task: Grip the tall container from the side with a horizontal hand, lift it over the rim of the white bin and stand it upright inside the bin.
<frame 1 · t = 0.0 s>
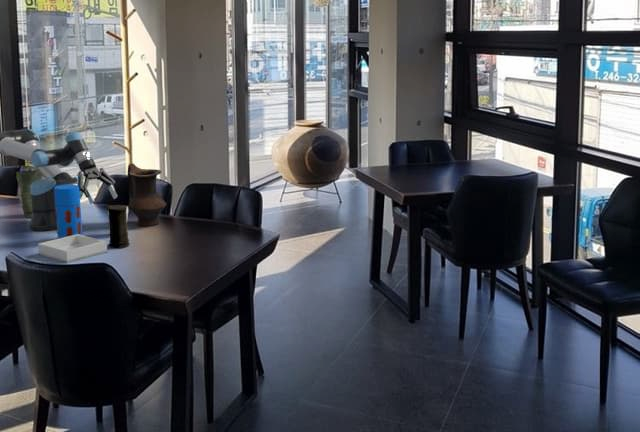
hand: (104, 200, 354), 15 cm above the table, tool tilted 35°, fingers open, 13 cm apart
thermos: (70, 240, 342), on the table
jug: (146, 224, 372), on the table
white bin: (73, 253, 320), on the table
green ribbed vase: (34, 216, 388), on the table
container: (119, 246, 332), on the table
foam cup: (119, 234, 352), on the table
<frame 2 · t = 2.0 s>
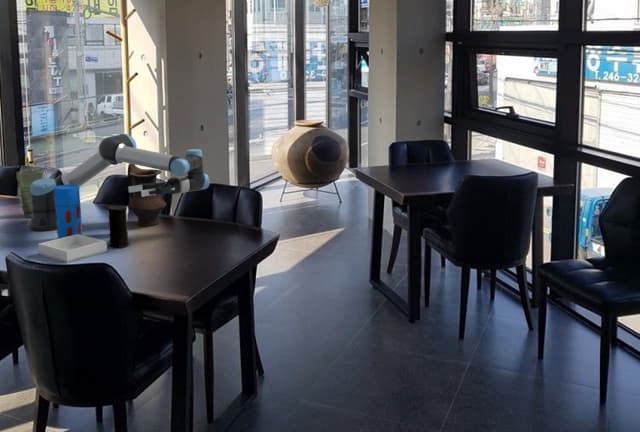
hand: (135, 191, 332), 24 cm above the table, tool horizontal, fingers open, 13 cm apart
nothing on the table moved.
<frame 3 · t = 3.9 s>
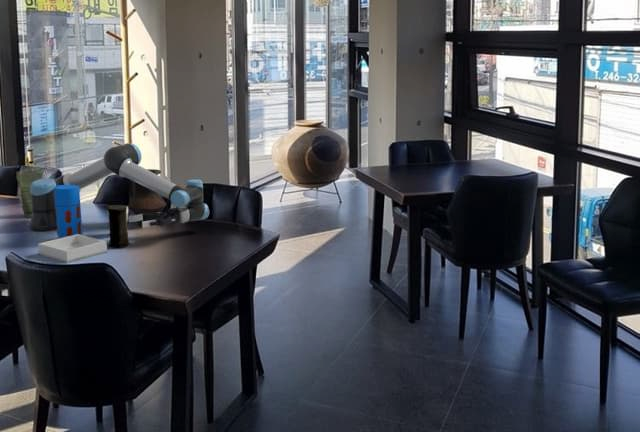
hand: (135, 222, 335), 10 cm above the table, tool horizontal, fingers open, 13 cm apart
nothing on the table moved.
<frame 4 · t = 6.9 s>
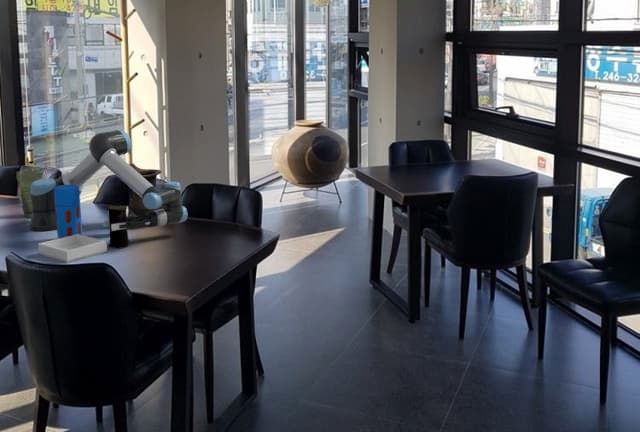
hand: (107, 225, 327), 10 cm above the table, tool horizontal, fingers closed on container, 8 cm apart
container: (119, 246, 332), on the table, touching gripper
everything else where it was.
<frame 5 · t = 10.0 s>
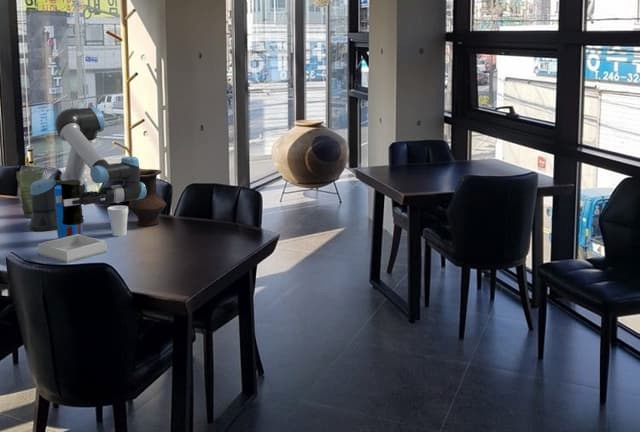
hand: (60, 201, 312), 24 cm above the table, tool horizontal, fingers closed on container, 8 cm apart
container: (73, 223, 317), point 13 cm above the table, touching gripper
everything else where it was.
when the fingers open (12 cm above the table, at t = 13.1 s): container drops 1 cm, resting on white bin.
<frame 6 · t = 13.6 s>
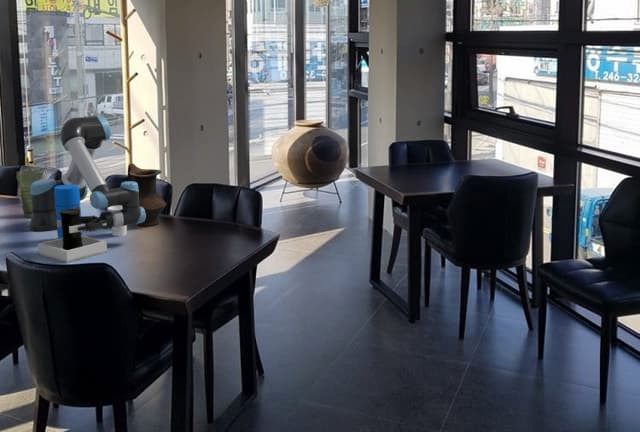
hand: (63, 226, 315), 12 cm above the table, tool horizontal, fingers open, 13 cm apart
container: (73, 251, 320), point 1 cm above the table, touching white bin
everything else where it was.
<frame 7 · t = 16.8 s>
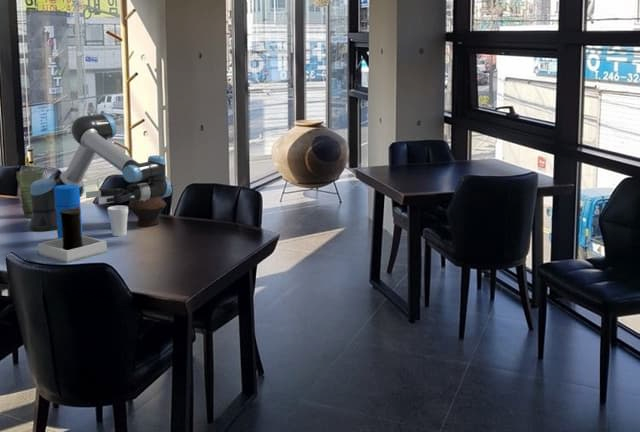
hand: (92, 198, 320), 23 cm above the table, tool horizontal, fingers open, 13 cm apart
nothing on the table moved.
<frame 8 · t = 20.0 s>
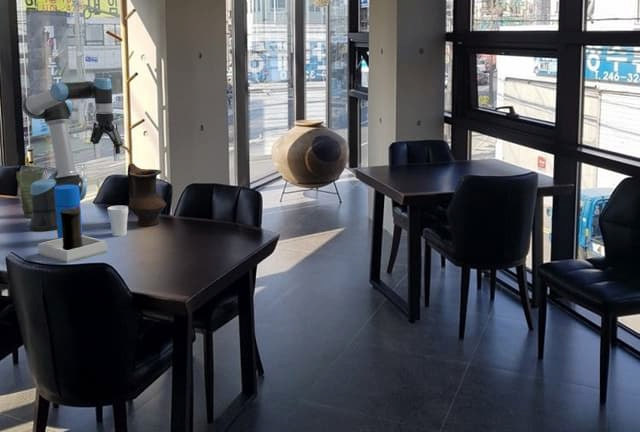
hand: (107, 159, 339), 37 cm above the table, tool pointing down, fingers open, 13 cm apart
nothing on the table moved.
at the end: container inside the target area on the white bin (0.1 cm from its centre), point 0.8 cm above the white bin's base; container tilted 0°; the gripper is holding nothing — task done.
